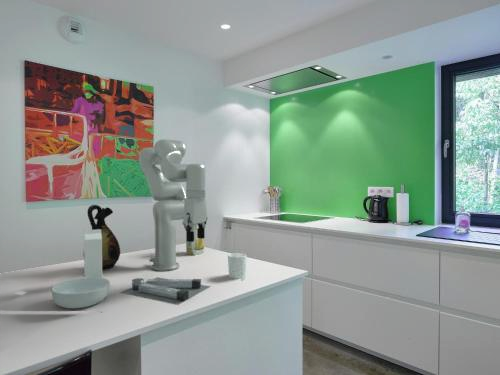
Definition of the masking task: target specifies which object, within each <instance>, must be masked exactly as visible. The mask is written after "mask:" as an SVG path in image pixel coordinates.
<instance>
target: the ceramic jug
mask: <svg viewBox="0 0 500 375" xmlns="http://www.w3.org/2000/svg"><path fill="white" fill-rule="evenodd" d="M95 210H96V211H97V212H96V213H95V216H94V215H93V212H94V211H95ZM113 213H114V212H113V210H112V208H110V207H108V206H107V207H105V208H104V207H101V206H100V205H97V204H92V205H90V206H89V207H88V208H87V217H88V220H89V223H90V226H91V230H97V229H101V235H102V271H106V270H111V269H113V268H114V267H115V266H116V265H117V262H118V261H119V259H120V256H121V246H120V243H119V241H118V239H117V237H116V235H115V234H114V233H113V231H112V230H111V228H110V227H109V226H108V225H107V223H106V220H105V219H106V218H107V217H109V216H110V215H112V214H113ZM95 220H96V221H95ZM83 257H84V252H83Z"/></svg>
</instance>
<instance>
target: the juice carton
mask: <svg viewBox="0 0 500 375" xmlns="http://www.w3.org/2000/svg"><path fill="white" fill-rule="evenodd" d="M190 227H191V225H190ZM197 228H198V225H197V224H195V225H194V229H193V231H194V242H189V241H187V240H186V239H185V250H186V251H185V252H186V255H190V256H196V255H201V254H204V253H205V252H204V250H205V248H204V247H205V238H204V239H201V238H197Z"/></svg>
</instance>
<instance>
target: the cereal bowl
mask: <svg viewBox="0 0 500 375" xmlns="http://www.w3.org/2000/svg"><path fill="white" fill-rule="evenodd" d="M110 284H111V283H110V280H109V279H108V278H104V277H102V278H100V277H77V278H76V277H75V278H72V279H71V278H70V279H66V280H63V281H61V282H59V283H56V284H55V285H54V286H53V287H52V288H51V297H52V298H51V299H53V302H54V303H55V304H56V305H57V306H59V307H62V308H65V309H73V310H74V309H83V308H88V307H91V306H95V305H96V304H98V303H100V302H102V301H103V300H105V298H106V297H107V296H108V293H109V290H110Z"/></svg>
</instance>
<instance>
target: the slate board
mask: <svg viewBox="0 0 500 375" xmlns="http://www.w3.org/2000/svg"><path fill="white" fill-rule="evenodd" d="M153 279H165V278H164V277H155V278H153ZM144 283H146V281H144ZM210 287H211V286H209V285H204V284H201V287H200V288H174V289H179V290H187V291H189V298H188V299H187V300H189V299H192V298H193V297H195V296H196V295H198V294H200V293H202V292H204V291H206V290H208V289H209V288H210ZM119 294H125V295H128V296H132V297H136V298H137V297H139V298H143V299H148V300H153V301H157V302H163V303H167V304H171V305H177V306H178V305H180V304H182V303H184V302H186V301H187V300H185V301H181V300H177V299H174V298H169V297H164V296H159V295H154V294H149V293H144V292H139V290H134V289H132V287H130V288H127V289H125V290H122V291H120V292H119Z"/></svg>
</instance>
